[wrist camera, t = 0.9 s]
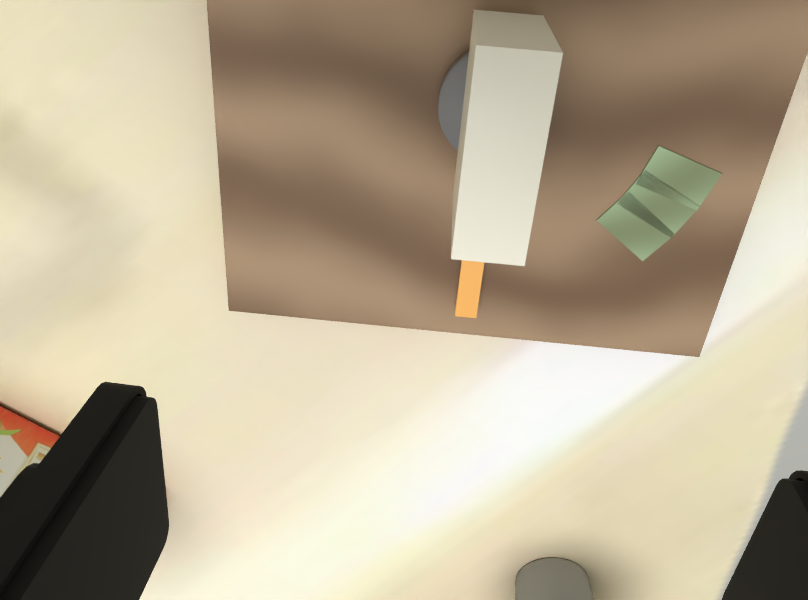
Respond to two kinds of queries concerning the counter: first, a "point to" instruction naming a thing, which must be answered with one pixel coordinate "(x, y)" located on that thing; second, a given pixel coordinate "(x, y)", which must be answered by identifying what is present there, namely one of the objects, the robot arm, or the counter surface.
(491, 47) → the knob
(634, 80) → the dial board
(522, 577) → the cup
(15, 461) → the cracker box
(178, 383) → the counter surface
